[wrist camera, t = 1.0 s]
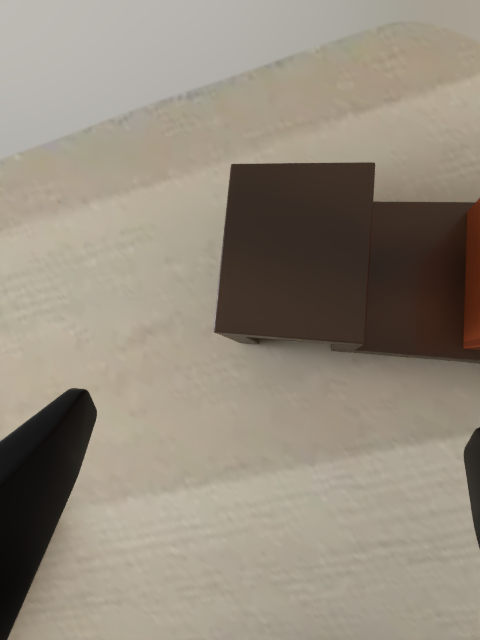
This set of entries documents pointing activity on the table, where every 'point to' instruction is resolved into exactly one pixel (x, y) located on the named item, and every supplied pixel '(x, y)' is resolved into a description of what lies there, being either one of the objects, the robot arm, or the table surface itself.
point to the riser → (341, 264)
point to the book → (472, 280)
